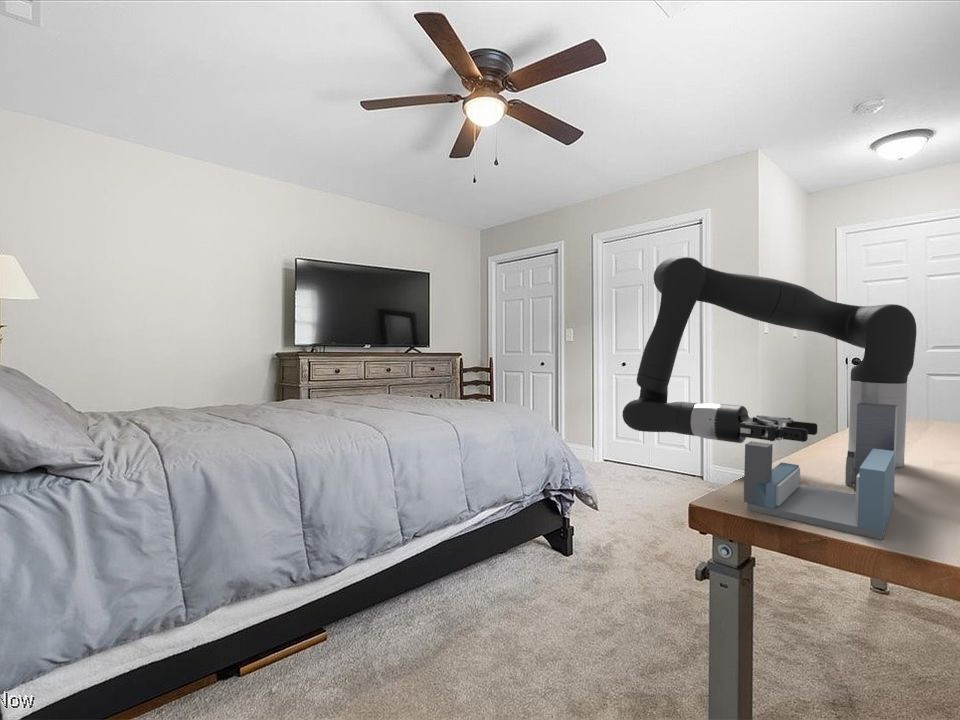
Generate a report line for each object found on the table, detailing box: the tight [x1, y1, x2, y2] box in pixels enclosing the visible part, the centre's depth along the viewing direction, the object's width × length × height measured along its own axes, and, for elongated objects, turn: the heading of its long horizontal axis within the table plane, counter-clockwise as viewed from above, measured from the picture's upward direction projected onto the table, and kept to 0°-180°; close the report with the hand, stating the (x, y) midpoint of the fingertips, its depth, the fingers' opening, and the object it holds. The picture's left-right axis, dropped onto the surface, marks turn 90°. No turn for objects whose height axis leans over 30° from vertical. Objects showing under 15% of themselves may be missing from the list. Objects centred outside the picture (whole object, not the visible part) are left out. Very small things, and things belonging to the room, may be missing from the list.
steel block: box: [853, 402, 897, 495], centre depth 83 cm, size 4×5×15 cm
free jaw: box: [743, 440, 801, 508], centre depth 78 cm, size 16×4×9 cm, turn 136°
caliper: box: [845, 450, 856, 487], centre depth 93 cm, size 20×1×6 cm, turn 133°
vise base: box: [746, 448, 895, 541], centre depth 74 cm, size 17×16×9 cm
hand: (812, 432), depth 89 cm, fingers open, 8 cm apart
